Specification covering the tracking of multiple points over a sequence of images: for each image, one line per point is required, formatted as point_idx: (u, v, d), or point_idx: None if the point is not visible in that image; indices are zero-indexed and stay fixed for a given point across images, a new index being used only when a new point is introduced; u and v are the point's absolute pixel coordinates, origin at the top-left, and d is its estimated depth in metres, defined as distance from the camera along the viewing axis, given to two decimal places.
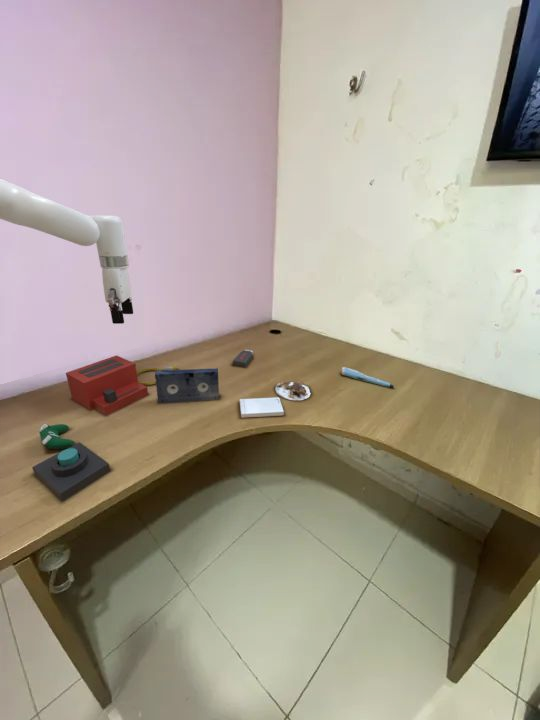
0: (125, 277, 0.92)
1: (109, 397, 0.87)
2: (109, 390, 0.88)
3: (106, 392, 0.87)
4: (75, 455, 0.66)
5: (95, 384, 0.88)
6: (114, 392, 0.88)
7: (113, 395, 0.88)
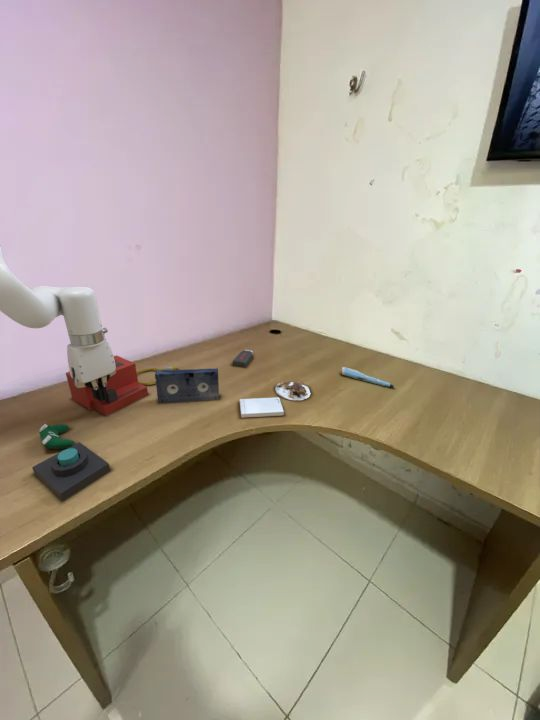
0: (95, 355, 0.79)
1: (109, 397, 0.87)
2: (110, 390, 0.88)
3: (107, 392, 0.87)
4: (75, 455, 0.66)
5: None
6: (115, 392, 0.88)
7: (114, 395, 0.88)
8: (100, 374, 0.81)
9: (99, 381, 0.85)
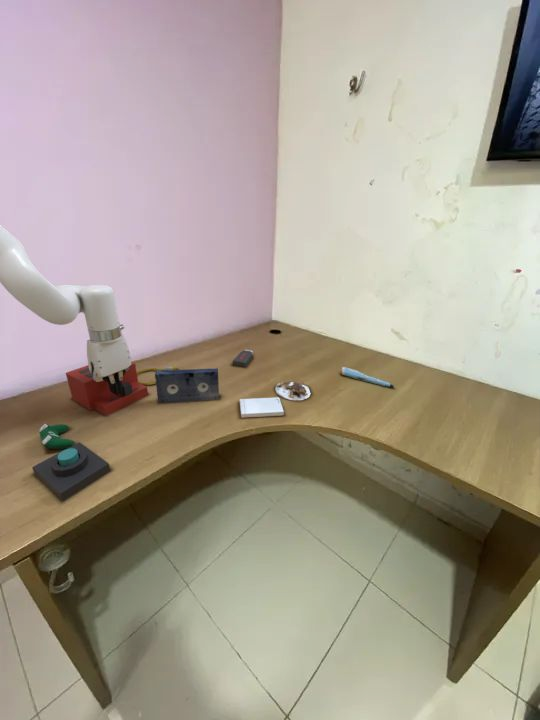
0: (113, 351, 0.82)
1: (125, 390, 0.90)
2: (125, 383, 0.92)
3: (122, 385, 0.91)
4: (75, 455, 0.66)
5: (95, 384, 0.88)
6: (130, 385, 0.91)
7: (129, 388, 0.91)
8: (117, 369, 0.85)
9: (115, 376, 0.88)
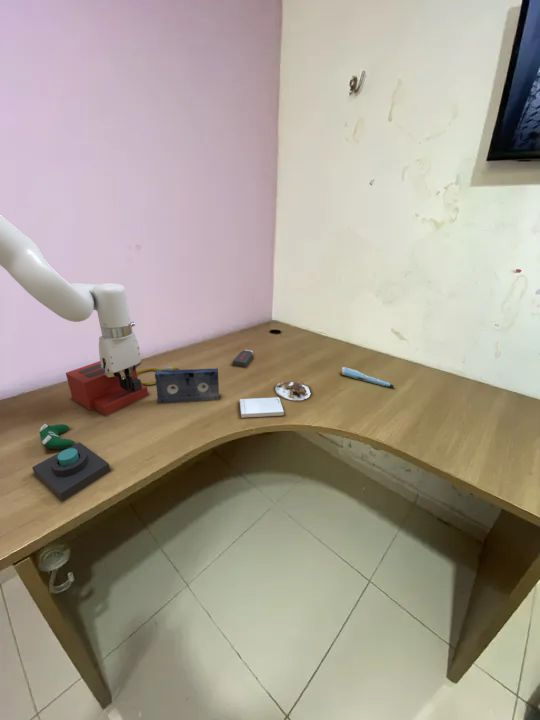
0: (124, 347, 0.85)
1: (135, 386, 0.93)
2: (134, 379, 0.94)
3: (132, 381, 0.93)
4: (75, 455, 0.66)
5: (95, 384, 0.88)
6: (139, 381, 0.94)
7: (138, 384, 0.94)
8: (128, 365, 0.88)
9: (126, 371, 0.91)
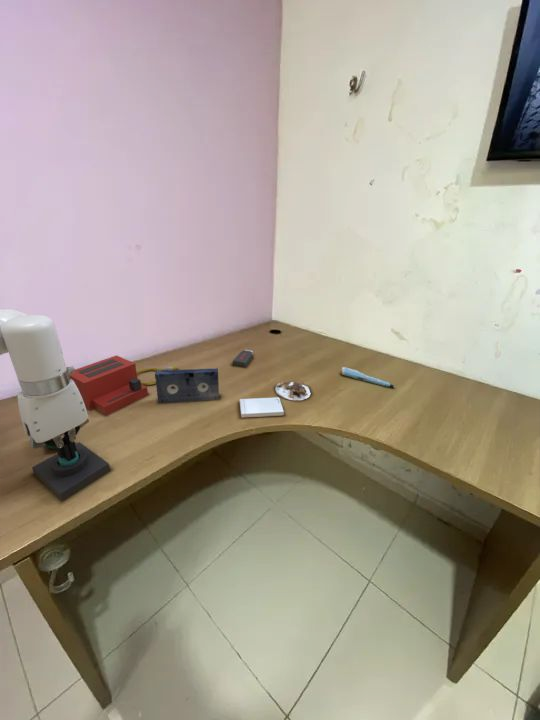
0: (57, 405, 0.59)
1: (134, 386, 0.93)
2: (134, 379, 0.94)
3: (132, 381, 0.93)
4: (76, 458, 0.66)
5: (95, 384, 0.88)
6: (139, 381, 0.94)
7: (138, 384, 0.94)
8: (65, 428, 0.62)
9: (66, 435, 0.65)
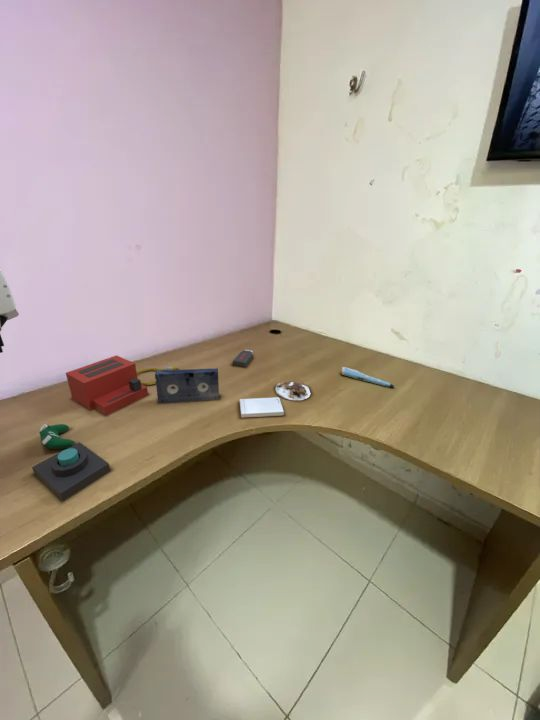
0: None
1: (134, 386, 0.93)
2: (134, 379, 0.94)
3: (132, 381, 0.93)
4: (75, 455, 0.66)
5: (95, 384, 0.88)
6: (139, 381, 0.94)
7: (138, 384, 0.94)
8: None
9: None
